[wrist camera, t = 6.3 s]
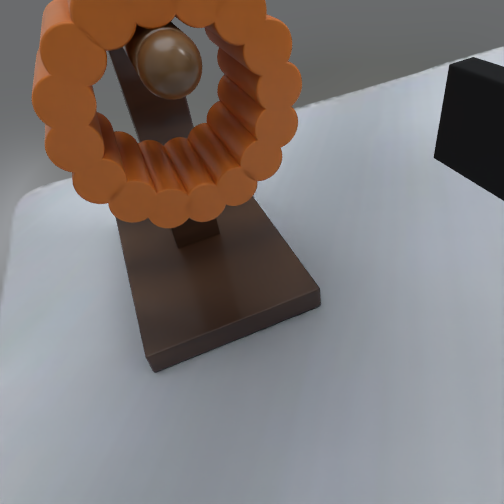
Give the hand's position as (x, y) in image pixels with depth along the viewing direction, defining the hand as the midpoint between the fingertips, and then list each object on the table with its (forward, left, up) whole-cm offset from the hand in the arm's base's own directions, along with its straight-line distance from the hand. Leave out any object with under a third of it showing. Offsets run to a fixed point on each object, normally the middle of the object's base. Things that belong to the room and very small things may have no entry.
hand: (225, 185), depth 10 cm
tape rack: (-7, -9, -13) cm, 17 cm away
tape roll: (-4, -6, -5) cm, 9 cm away
